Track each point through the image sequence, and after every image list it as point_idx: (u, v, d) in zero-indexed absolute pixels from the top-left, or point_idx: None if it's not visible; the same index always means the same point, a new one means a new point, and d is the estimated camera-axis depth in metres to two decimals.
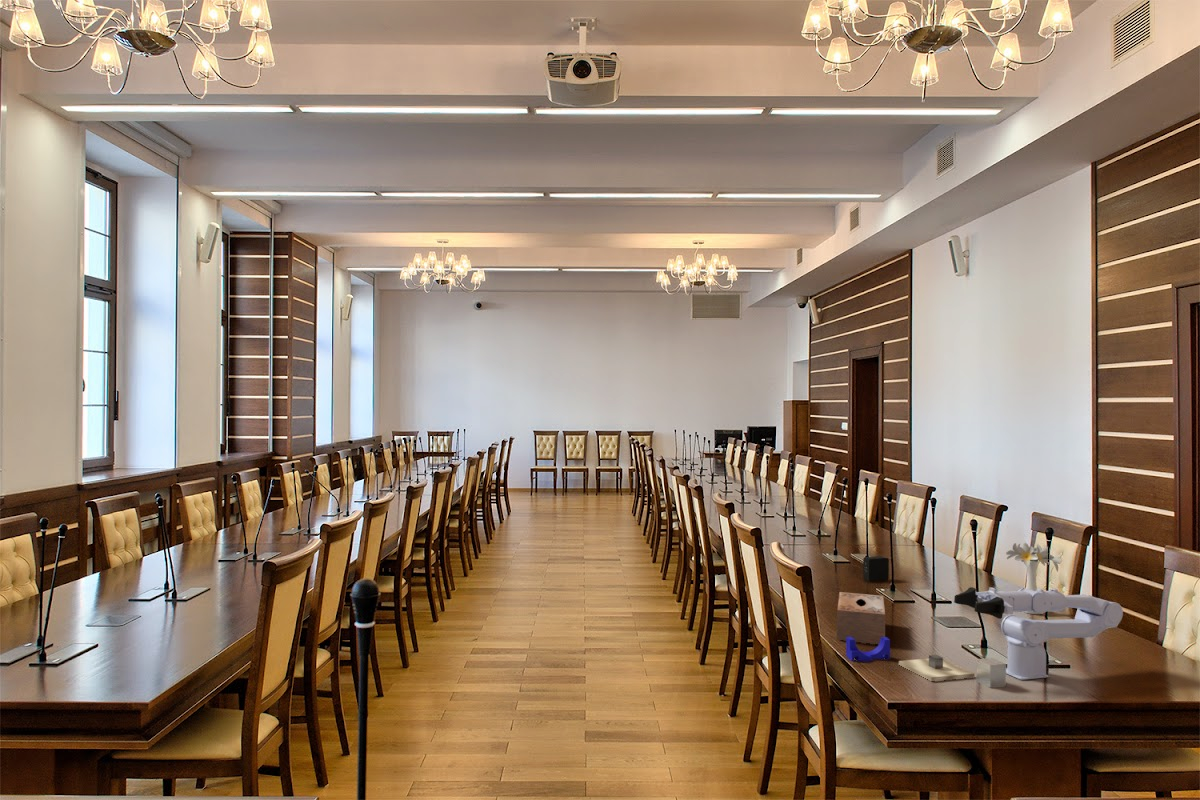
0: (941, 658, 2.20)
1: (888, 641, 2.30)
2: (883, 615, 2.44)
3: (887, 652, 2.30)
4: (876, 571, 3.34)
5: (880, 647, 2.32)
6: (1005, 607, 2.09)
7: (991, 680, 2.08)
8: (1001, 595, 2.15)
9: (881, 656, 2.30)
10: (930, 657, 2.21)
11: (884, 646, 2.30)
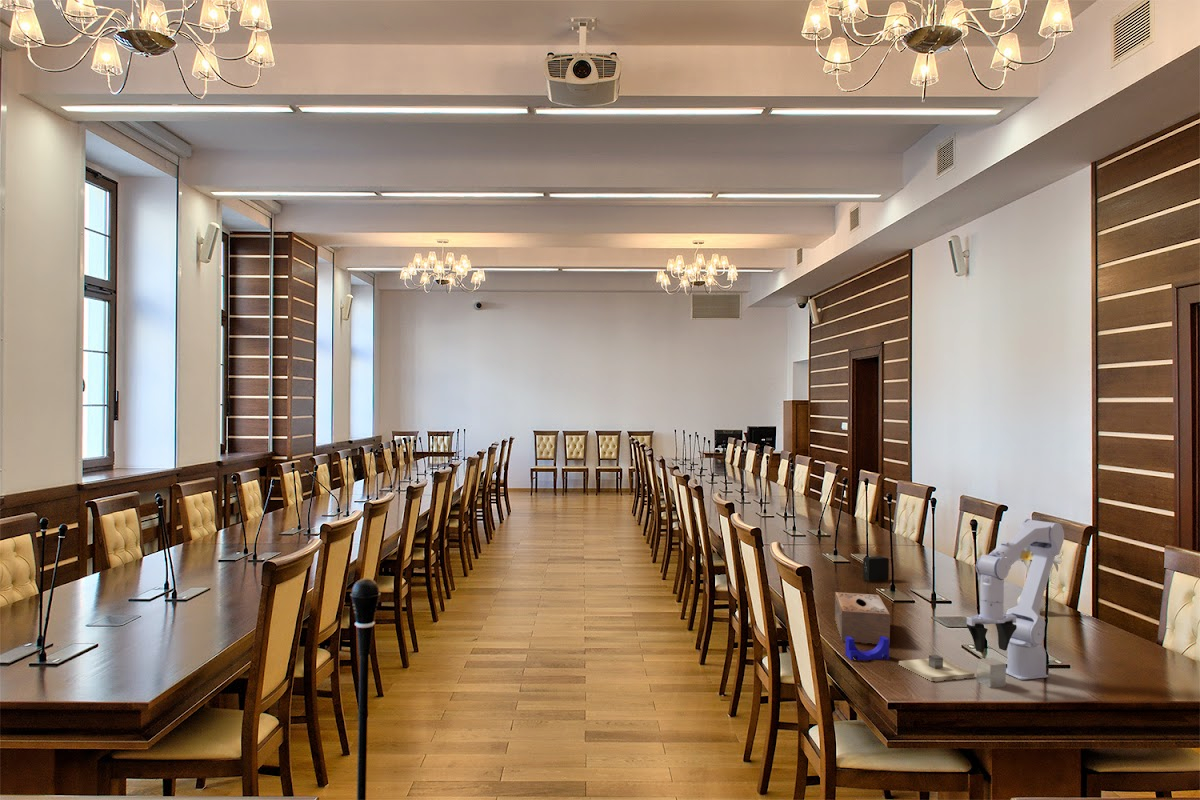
0: (941, 658, 2.20)
1: (887, 641, 2.31)
2: (888, 615, 2.45)
3: (886, 652, 2.31)
4: (876, 571, 3.34)
5: (879, 646, 2.32)
6: None
7: (991, 680, 2.08)
8: (1003, 613, 2.09)
9: (880, 656, 2.31)
10: (930, 657, 2.21)
11: (883, 645, 2.31)
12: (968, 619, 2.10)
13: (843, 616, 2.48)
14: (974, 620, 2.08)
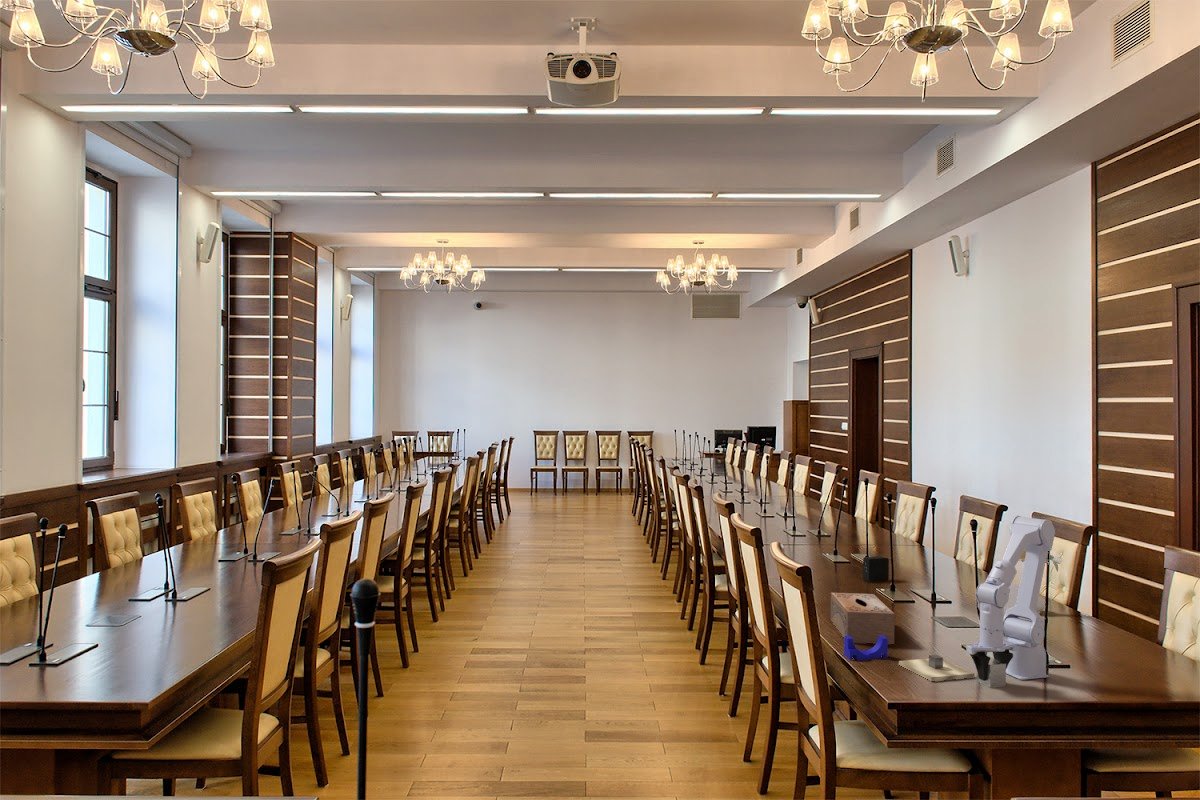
0: (941, 658, 2.20)
1: (886, 640, 2.32)
2: (892, 614, 2.45)
3: (885, 651, 2.32)
4: (876, 571, 3.34)
5: (878, 645, 2.33)
6: None
7: (991, 680, 2.08)
8: (1002, 642, 2.09)
9: (879, 655, 2.32)
10: (930, 657, 2.21)
11: (882, 644, 2.32)
12: (968, 647, 2.10)
13: (849, 617, 2.46)
14: (974, 648, 2.08)
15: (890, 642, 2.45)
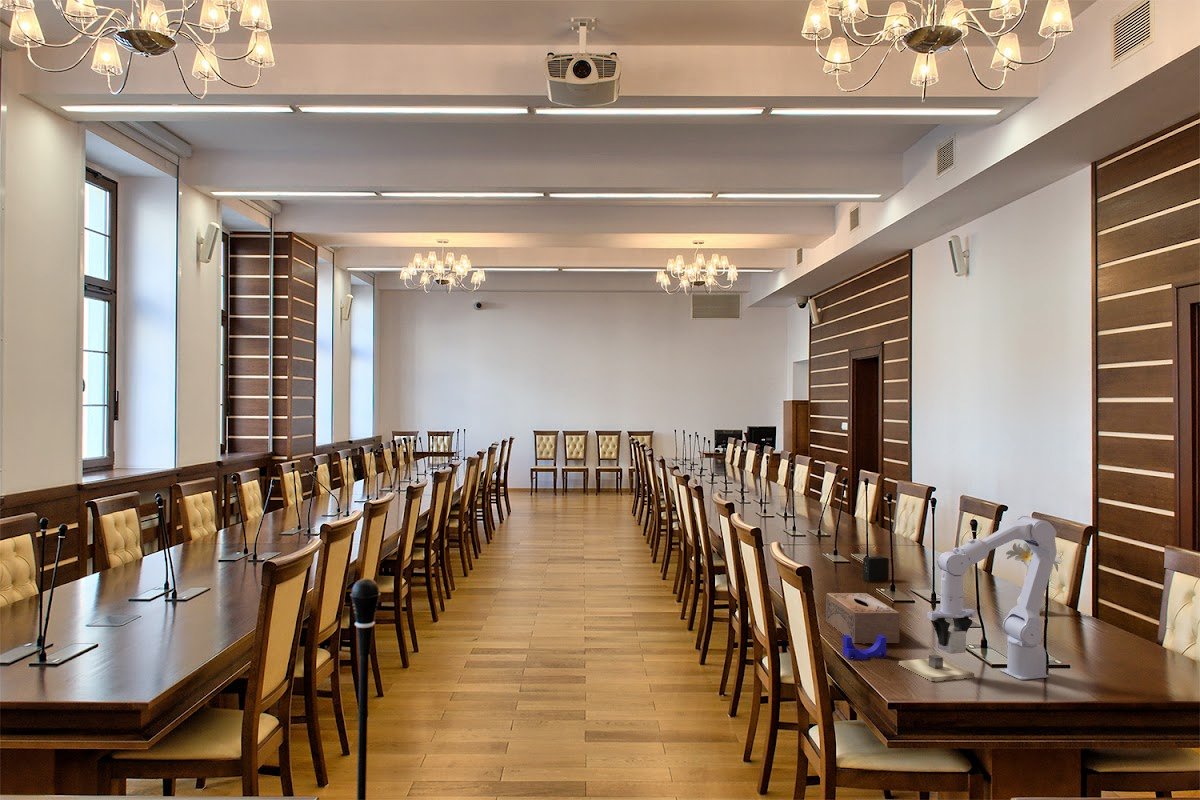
0: (941, 658, 2.20)
1: (884, 639, 2.32)
2: (897, 614, 2.46)
3: (883, 650, 2.32)
4: (876, 571, 3.34)
5: (876, 645, 2.34)
6: None
7: (952, 646, 2.15)
8: (962, 608, 2.16)
9: (877, 654, 2.32)
10: (930, 657, 2.21)
11: (881, 644, 2.32)
12: (928, 614, 2.16)
13: (856, 618, 2.45)
14: (934, 615, 2.15)
15: (895, 641, 2.46)
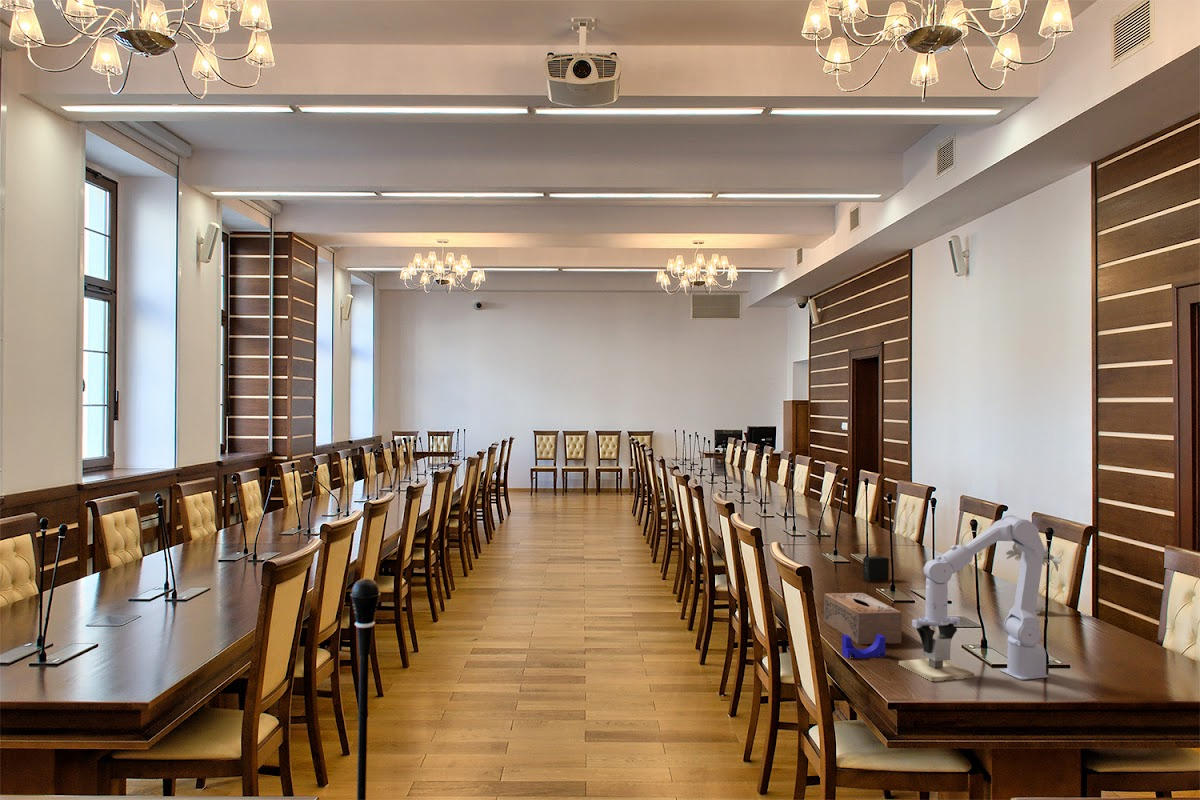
0: None
1: (883, 639, 2.33)
2: (900, 613, 2.47)
3: (882, 649, 2.33)
4: (876, 571, 3.34)
5: (875, 644, 2.34)
6: None
7: (936, 653, 2.17)
8: (946, 616, 2.19)
9: (876, 653, 2.33)
10: None
11: (880, 643, 2.33)
12: (913, 621, 2.19)
13: (859, 618, 2.45)
14: (919, 622, 2.18)
15: (897, 641, 2.47)
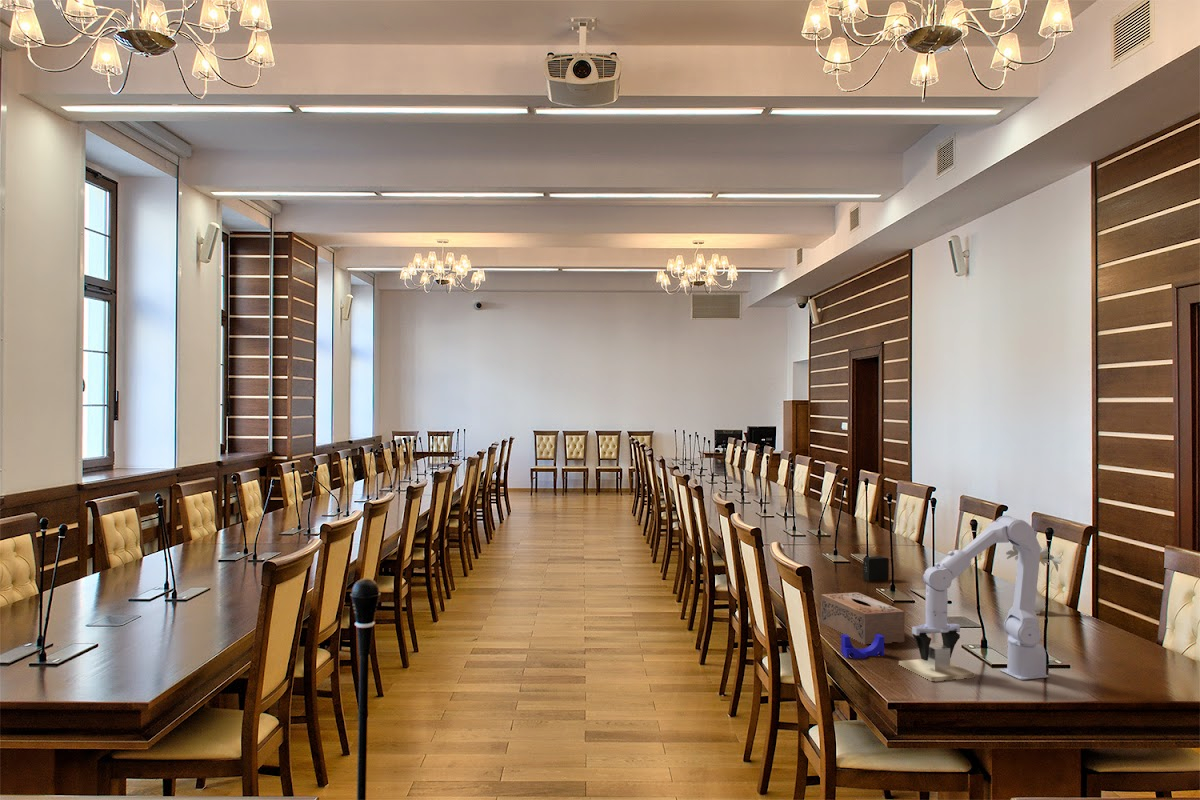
0: None
1: (882, 638, 2.33)
2: (903, 612, 2.48)
3: (881, 649, 2.33)
4: (876, 571, 3.34)
5: (874, 644, 2.35)
6: None
7: (936, 663, 2.17)
8: (946, 623, 2.19)
9: (875, 653, 2.33)
10: None
11: (879, 643, 2.33)
12: (913, 629, 2.19)
13: (866, 619, 2.45)
14: (919, 630, 2.18)
15: (901, 640, 2.48)
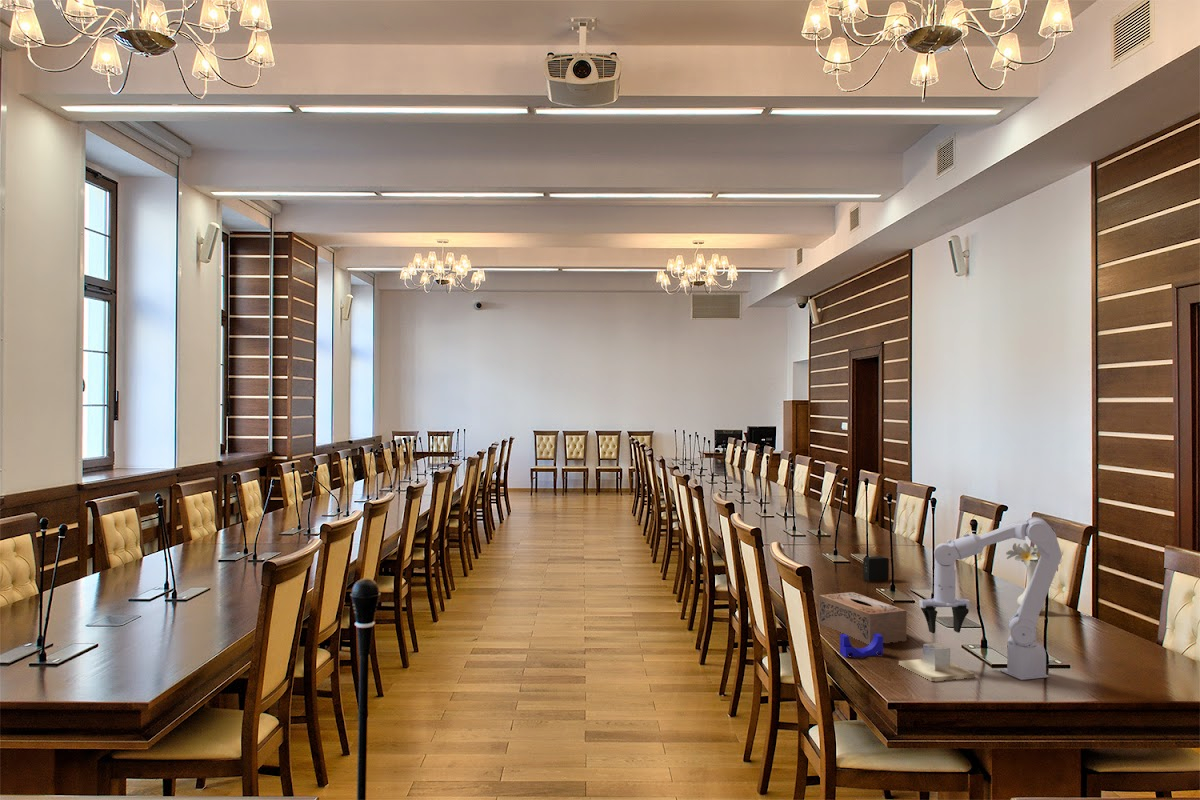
0: None
1: (881, 638, 2.34)
2: (905, 611, 2.49)
3: (880, 648, 2.34)
4: (876, 571, 3.34)
5: (873, 643, 2.35)
6: None
7: (936, 663, 2.17)
8: (954, 597, 2.25)
9: (874, 652, 2.34)
10: None
11: (877, 642, 2.34)
12: (920, 602, 2.26)
13: (871, 619, 2.44)
14: (925, 603, 2.25)
15: (903, 639, 2.49)
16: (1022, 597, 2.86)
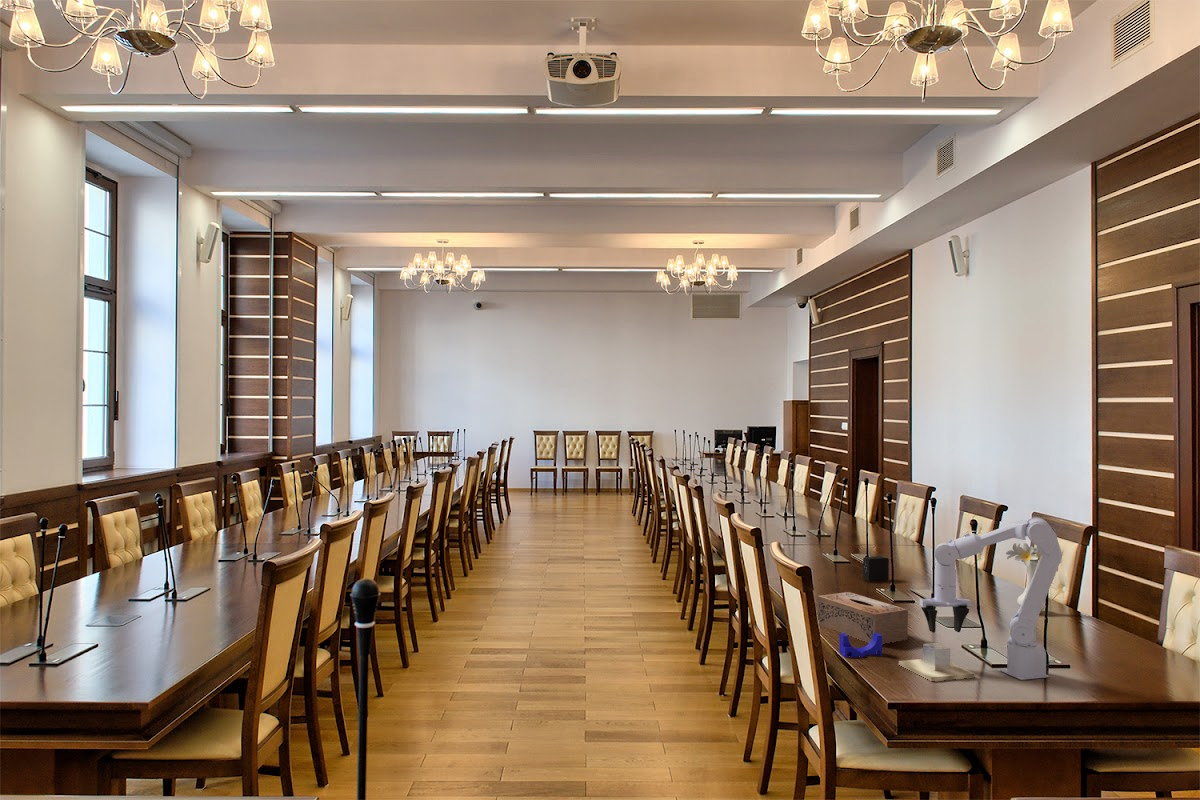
0: None
1: (880, 637, 2.34)
2: (906, 610, 2.50)
3: (879, 648, 2.34)
4: (876, 571, 3.34)
5: (872, 643, 2.35)
6: None
7: (936, 663, 2.17)
8: (954, 597, 2.25)
9: (873, 652, 2.34)
10: None
11: (877, 642, 2.34)
12: (920, 601, 2.27)
13: (875, 619, 2.44)
14: (925, 602, 2.26)
15: (904, 638, 2.50)
16: (1022, 597, 2.86)
